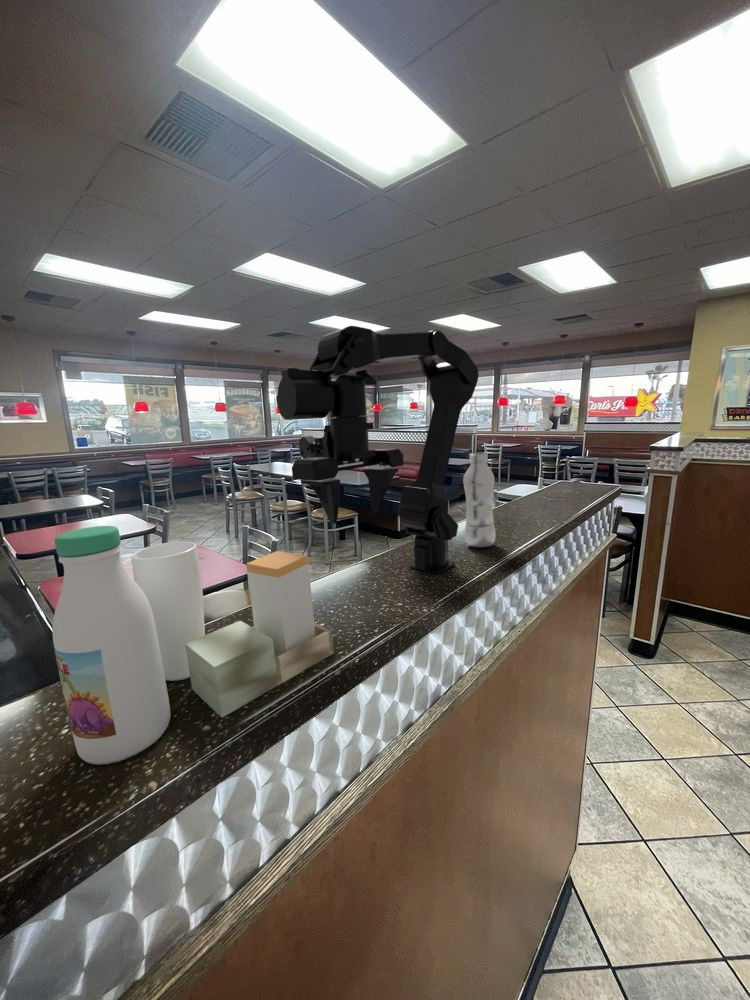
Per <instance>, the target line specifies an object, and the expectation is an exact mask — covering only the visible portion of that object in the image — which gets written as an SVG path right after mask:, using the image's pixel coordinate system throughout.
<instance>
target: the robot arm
mask: <svg viewBox="0 0 750 1000" xmlns="http://www.w3.org/2000/svg"><path fill="white" fill-rule="evenodd" d="M433 356H437V357H438V358H439V359H440V360H442V361H443V362H439V363H437V362H436V361H435V360H434V357H433ZM410 358H417V359H418V360H419V361H420V366H421V371H422V374H423V376H424V377H425V378H426V379H427V380H428V382H429V394H430V397H431V400H432V403H433V408H432V413H431V418H430V420H429V425H428V426H429V427H428V431H427V434H426V439H425V443H424V448H423V452H422V456H421V461H420V464H419V465H420V466H419V470H418V473H417V478H416V480H415V481H414V482H413V484H411V486H407V485H404V486H403V488H402V490H401V497H400V501H399V504H398V505H397V509H398V508H399V510H398V511H399V513H398V515H399V517H398V518H399V519H400V520H401V522H402V524H403V526H404V529H405V532H406V535H412V536H415V537H414V538H413V539H414V546H413V556H414V562H413V563H410V564H409V565H408V566H409V568H410V569H414V570H418V571H422V572H425V573H428V574H429V573H430V574H434V575H438V574H441V573H442V572H443V571H446V570H448V569H450V568H452V567H453V566H455V565H456V561H454V560H449V542H448V541H451V540H453V538H455V537H457V535H458V530H459V524H458V523H457V522H456V520H454V519H453V518H452V516H451V515H450V514H449V513H448V510H449V509H448V508H449V498H448V495H447V491H446V488H445V485H444V484H445V480H446V475H447V471H448V468H449V467H448V466H449V463H450V458H451V454H452V450H453V445H454V441H455V437H456V431H457V427H458V423H459V420H460V415H461V414H460V413H461V411H462V409H464V407H465V406H466V405H467V403H468V402H469V401H470V400H471V399H472V397H473V395H474V392H475V390H476V387H477V384H478V382H479V381H478V380H479V369H478V367H477V365H476V363H475V362H474V361H473V360H472V358H471V357H470V355H469V354H468V353H467V351H465V350H464V349H462V348H461V347H459V346H457V345H456V344H454V343H453V342H451V341H449V339H448V337H447V336H446V335H445V334H444V333H443V332H442V331H440V330H437V329H434V330H430V331H419V332H398V333H378V332H376V331H374V330H372V329H371V328H367V327H362V326H356V325H349V326H346V327H343V328H340V329H338V330H335V331H333V332H329V333H327V334H325V335H323V336H321V338H320V340H319V342H318V346H317V353H316V355H315V357H314V359H313V361H312V362H311V364H310V366H309V368H308V369H300V368H297V367H287V368H284V369H282V370H281V379H280V381H279V384H278V388H277V394H276V396H275V400H276V407H277V411H278V412H279V414H280V416H281V417H282V419H284V420H286V421H294V420H295V421H296V420H314V419H318V420H319V419H324V418H327V416H328V417H329V419H328V420H329V424H328V425H324V428H323V436H322V437H321V438H315V437H314V436H313V435H307V436H302V437H300V438H299V439H298V450H299V454H300V456H301V458H297V459H295V460H294V462H293V464H292V466H291V473H292V474H291V476H292V480H299V481H300V483H301V484H302V485H308V487H310V488H311V489H312V491H314V493H315V495H316V496H317V498H318V500H319V502H320V504H321V506H322V508H323V511H324V513H325V515H326V517H327V519H328V522H329V523H330V524H331V525H336V524H337V522H338V517H339V516H338V515H339V504H340V503H339V502H340V489H341V479H340V478H339V479H337V478H336V477H337V475H338V473H339V472H342V471H346V470H347V471H348V470H353V469H354V470H355V469H361V468H362V473H364V475H365V476H366V479H367V480H368V488H369V489H368V491H369V498H370V499H369V500H370V506H371V511H372V512H373V513H378V512H379V511H380V508H381V505H382V503H383V501H384V498H385V496H386V494H387V492H388V490H389V487H390V485H391V483H392V481H393V478H394V476H395V475H396V473H397V472H399V470H400V469H399V468H398V467H402V466H404V454H403V453H402V451H401V450H400V449H399V448H373V449H370V444H369V441H370V440H369V430H374V422H368V416H367V415H368V413H367V412H368V411H367V399H366V398H367V397H366V387H372V386H376V385H377V383H378V382H377V380H376V379H375V378H374V377H373V376H371V375H370V374H369V373H368V371H367V370H366V369H362V370H357V371H356V372H355V373H354V374H348V372H350V371H351V370H355V369H359V368H363V367H365V366H368V365H371V364H374V363H376V362H380V361H381V362H382V361H392V360H398V359H399V360H401V359H410ZM336 376H337V378H336V379H335V380H332V379H331V378H332V377H336ZM365 467H367V468H365Z"/></svg>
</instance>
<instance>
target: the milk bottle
mask: <svg viewBox="0 0 750 1000" xmlns="http://www.w3.org/2000/svg"><path fill="white" fill-rule="evenodd" d="M54 546H55V550H56V553H57V555H58V562H59V563H60V564H62V566H63V583H62V586H61V587H62V588H61V592H60V595H59V598H58V600H57V604H56V607H55V610H54V615H53V619H52V628H51V629H52V642H53V648H54V654H55V655H54V656H55V661H56V665H57V669H58V674H59V678H60V683H61V688H62V693H63V697H64V702H65V706H66V707H65V708H66V710H67V711H66V712H67V714H68V715H67V716H68V721H69V725H70V729H71V733H72V737H73V741H74V746H75V749H76V752H77V755H78V757H79V758H80V759H81V760H82V761H84V762H86V763H88V764H91V765H99V766H102V765H110V764H115V763H117V762H121V761H123V760H127V759H129V758H132V757H133V756H136V755H138V754H139V753H141V752H143V751H145V750H146V749H148V748H149V747H150V746H152V745H153V744H154V743H155V742H157V741H158V740H159V739H160V738H161V737H162V735H163V734H164V733H165V732H166V730H167V728H168V726H169V724H170V722H171V721H170V720H171V716H172V714H171V705H170V700H169V699H170V698H169V694H168V693H169V692H168V688H167V683H166V681H167V680H165V675H164V670H163V664H162V658H161V653H160V647H159V642H158V637H157V631H156V626H155V622H154V618H153V613H152V610H151V607H150V604H149V602H148V599H147V597H146V596H145V594H144V592H143V591H142V590H141V588H140V587H139V586H138V585H137V583H136V582H135V580H134V578H133V577H132V576H131V575H130V573H129V571H128V570H127V568H126V566H125V564H124V563H123V561H122V557H121V551H122V550H123V547H121V546H122V545H121V535H120V532H119V528H118V527H117V526H113V525H99V526H97V525H96V526H89V527H83V528H79V529H74V530H69V531H67V532H64V533H61V534H59V535H57V536H56V537H55V538H54Z"/></svg>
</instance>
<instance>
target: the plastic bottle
mask: <svg viewBox="0 0 750 1000" xmlns="http://www.w3.org/2000/svg"><path fill="white" fill-rule="evenodd" d="M488 454H489V453H488V452H482V451H481V452H470V453H469V460H468V463H470V466H469V467H468V468H467V469H466V471H465V473H464V475H463V478H462V481H463V482H462V483H463V488H464V495H465V503H466V514H465V515H466V517H465V518H466V520H465V527H464V534H463V535H464V540H465V542H466V544H467V545H468V546H470V547H473V548H486V547H487V548H488V547H491V546H493V544H494V543H495V542H496V536H497V535H496V528H495V525H494V515H493V495H494V488H495V478H496V477H495V475H494V473H493V471H492V470H491V468H490V467H489V466H488V464H487V463H488V462H489V459H488V458H489V457H488Z"/></svg>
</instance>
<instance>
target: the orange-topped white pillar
mask: <svg viewBox="0 0 750 1000" xmlns="http://www.w3.org/2000/svg"><path fill="white" fill-rule="evenodd" d="M309 564H310V563H309V556H308V555H307V554H300V553H294V552H293V553H292V552H288V551H287V552H286V551H280V550H276V551H274V552H271V553H269V554H266V555H264V556H261V557H259V558H256V559H255V560H251V561H249V562H247V563H246V565H245V567H246V574H247V581H248V589H249V598H250V604H251V605H250V606H251V613H252V618H253V619H252V621H253V628H254V629H256V630H258V631H259V632H261V633H263V634H265V635H266V636H268V637H270V638H272V639H273V645H274V653H275V656H276V657H277V656H279V655H281V654H283V653H285V652H287V651H289V650H291V649H293V648H295V647H297V646H299V645H301V644H302V643H304V642H306V641H308V640H310V639H312V638H314V637H315V626H314V623H315V619H314V606H313V597H312V589H311V577H310V566H309Z"/></svg>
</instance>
